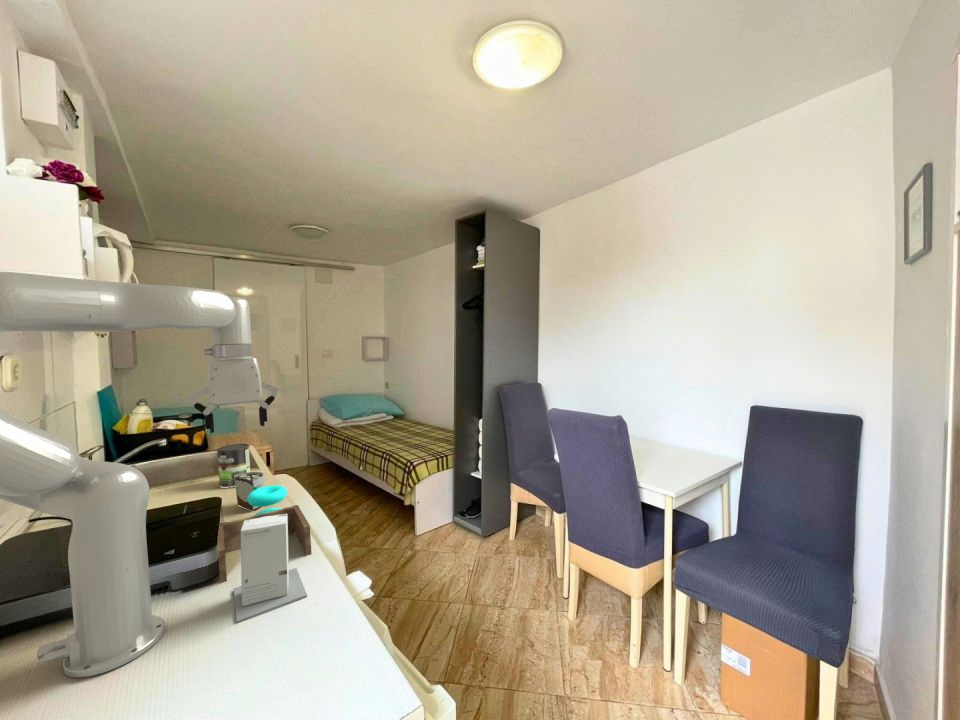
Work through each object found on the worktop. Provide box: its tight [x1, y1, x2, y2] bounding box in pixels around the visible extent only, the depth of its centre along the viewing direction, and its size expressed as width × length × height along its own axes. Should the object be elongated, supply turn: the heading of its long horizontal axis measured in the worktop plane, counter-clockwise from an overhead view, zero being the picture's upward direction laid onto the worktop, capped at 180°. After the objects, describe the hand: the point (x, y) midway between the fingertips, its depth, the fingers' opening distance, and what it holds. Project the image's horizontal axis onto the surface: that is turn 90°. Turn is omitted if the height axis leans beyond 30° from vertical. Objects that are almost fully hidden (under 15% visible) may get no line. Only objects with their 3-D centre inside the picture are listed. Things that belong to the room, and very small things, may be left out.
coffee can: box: [216, 443, 251, 488], centre depth 147 cm, size 10×10×14 cm
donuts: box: [247, 484, 288, 516], centre depth 111 cm, size 10×10×10 cm
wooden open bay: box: [217, 504, 312, 584], centre depth 95 cm, size 18×16×7 cm
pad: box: [232, 567, 308, 624], centre depth 79 cm, size 12×12×1 cm
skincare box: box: [240, 514, 290, 606], centre depth 79 cm, size 8×6×15 cm
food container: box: [234, 471, 267, 512], centre depth 125 cm, size 12×6×10 cm, turn 58°
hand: (237, 428), depth 88 cm, fingers open, 9 cm apart
